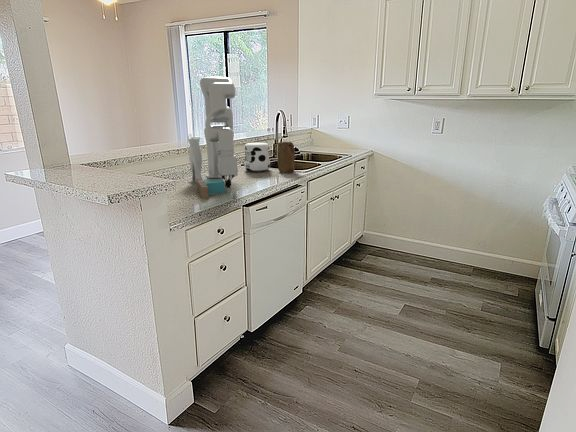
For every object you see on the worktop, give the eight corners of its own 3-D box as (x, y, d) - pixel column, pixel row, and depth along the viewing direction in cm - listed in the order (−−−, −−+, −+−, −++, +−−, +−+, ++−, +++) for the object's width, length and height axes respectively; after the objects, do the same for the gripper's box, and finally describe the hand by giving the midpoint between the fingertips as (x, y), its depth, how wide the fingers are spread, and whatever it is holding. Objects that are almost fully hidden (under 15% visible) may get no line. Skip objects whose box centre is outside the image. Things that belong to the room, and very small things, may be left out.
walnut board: (196, 189, 209) (196, 179, 207) (202, 189, 210) (201, 178, 208) (202, 198, 191) (201, 187, 189) (208, 198, 192) (208, 186, 190)
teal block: (203, 191, 206) (203, 180, 204) (222, 189, 209) (221, 178, 207) (206, 194, 199) (205, 183, 197) (225, 193, 202) (224, 181, 200)
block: (276, 172, 251) (276, 142, 245) (281, 170, 258) (280, 140, 252) (292, 173, 248) (292, 142, 241) (296, 171, 254) (296, 141, 248)
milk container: (271, 168, 265) (271, 142, 259) (268, 173, 249) (267, 145, 243) (247, 168, 267) (246, 142, 261) (242, 173, 250) (241, 145, 245)
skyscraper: (187, 182, 226) (183, 134, 217) (199, 180, 231) (196, 133, 222) (193, 184, 220) (189, 135, 211) (206, 182, 225) (202, 134, 216)
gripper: (214, 155, 193) (216, 190, 198) (242, 153, 198) (243, 187, 204) (210, 153, 199) (213, 187, 205) (238, 151, 205) (239, 184, 210)
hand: (228, 187), depth 204 cm, fingers closed
